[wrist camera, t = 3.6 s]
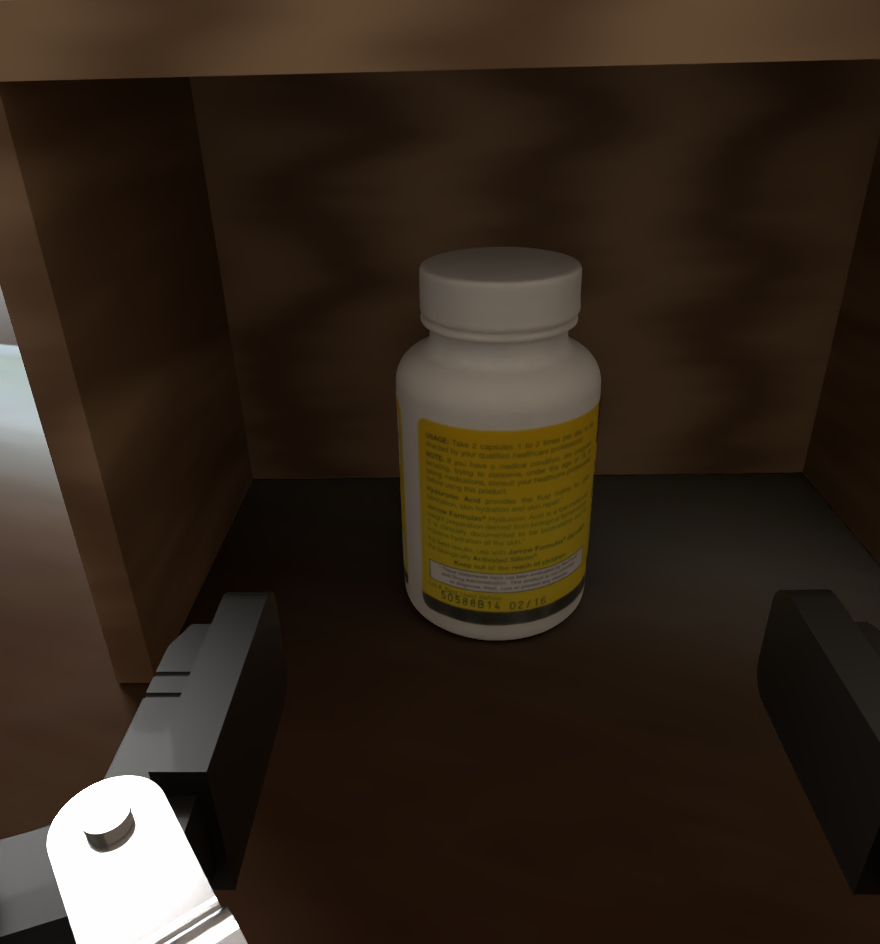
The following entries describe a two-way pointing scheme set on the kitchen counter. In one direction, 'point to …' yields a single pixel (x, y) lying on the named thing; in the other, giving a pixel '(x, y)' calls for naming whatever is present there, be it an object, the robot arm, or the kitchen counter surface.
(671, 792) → the kitchen counter surface
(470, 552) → the supplement bottle
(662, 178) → the cubby
